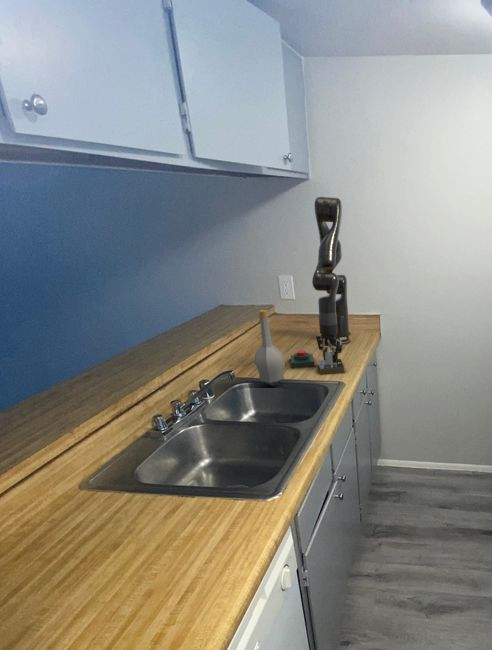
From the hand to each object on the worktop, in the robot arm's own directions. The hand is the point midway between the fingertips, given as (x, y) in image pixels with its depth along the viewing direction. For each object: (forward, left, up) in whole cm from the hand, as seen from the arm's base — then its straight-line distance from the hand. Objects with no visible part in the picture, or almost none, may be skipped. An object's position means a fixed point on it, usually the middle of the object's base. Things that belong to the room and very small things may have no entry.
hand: (330, 361), depth 207 cm
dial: (0, 0, -1) cm, 1 cm away
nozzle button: (-11, -12, 0) cm, 16 cm away
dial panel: (0, 0, -4) cm, 4 cm away
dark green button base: (-11, -12, -4) cm, 17 cm away
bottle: (+16, -25, -4) cm, 30 cm away
